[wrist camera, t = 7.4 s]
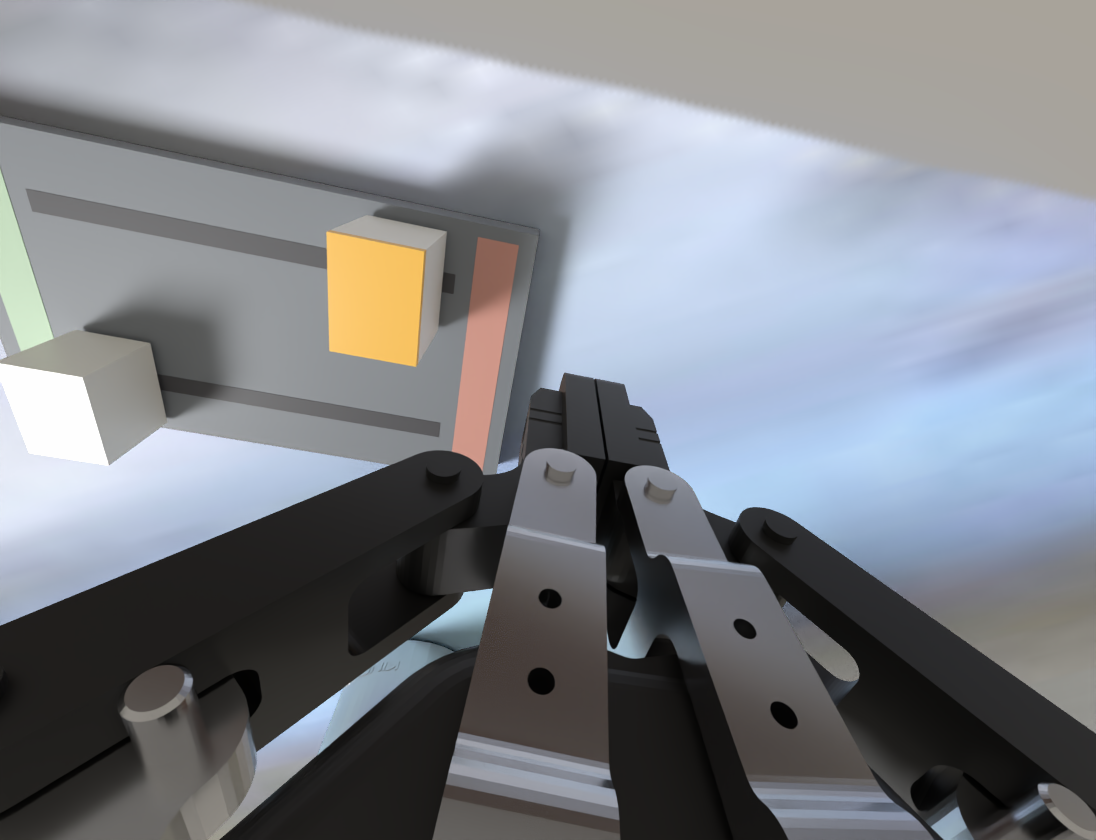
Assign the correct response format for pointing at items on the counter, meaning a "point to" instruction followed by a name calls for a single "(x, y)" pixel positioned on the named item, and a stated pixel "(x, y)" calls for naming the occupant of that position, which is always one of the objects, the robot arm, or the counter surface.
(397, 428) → the switch panel
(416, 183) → the counter surface
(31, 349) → the on breaker
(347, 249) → the block
